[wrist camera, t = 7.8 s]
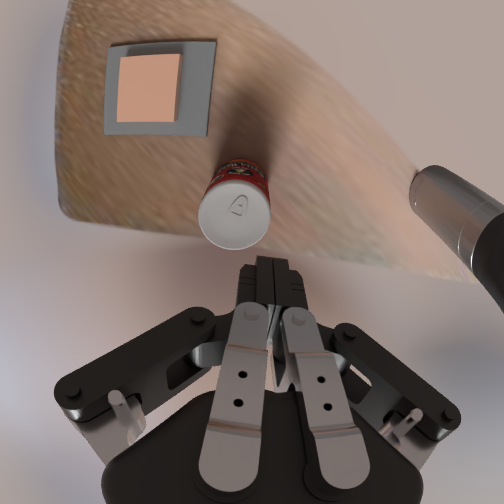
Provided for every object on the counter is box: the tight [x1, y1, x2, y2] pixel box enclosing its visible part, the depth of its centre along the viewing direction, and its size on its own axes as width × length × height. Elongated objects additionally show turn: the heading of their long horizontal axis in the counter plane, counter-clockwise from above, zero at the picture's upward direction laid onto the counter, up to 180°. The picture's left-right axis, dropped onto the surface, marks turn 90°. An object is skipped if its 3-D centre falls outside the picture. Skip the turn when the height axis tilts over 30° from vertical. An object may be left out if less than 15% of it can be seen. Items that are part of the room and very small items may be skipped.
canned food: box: [198, 159, 271, 250], centre depth 35 cm, size 8×8×11 cm
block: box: [117, 54, 183, 122], centre depth 31 cm, size 2×9×8 cm
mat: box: [104, 42, 217, 137], centre depth 32 cm, size 15×13×1 cm
